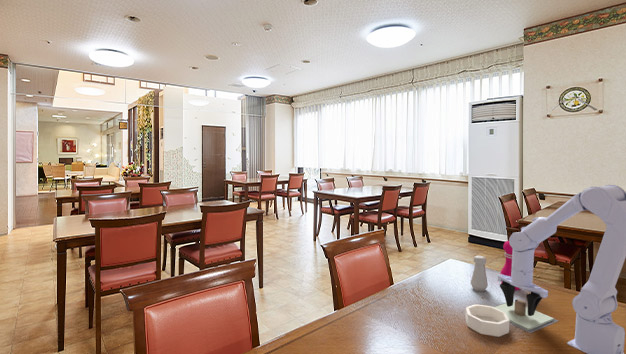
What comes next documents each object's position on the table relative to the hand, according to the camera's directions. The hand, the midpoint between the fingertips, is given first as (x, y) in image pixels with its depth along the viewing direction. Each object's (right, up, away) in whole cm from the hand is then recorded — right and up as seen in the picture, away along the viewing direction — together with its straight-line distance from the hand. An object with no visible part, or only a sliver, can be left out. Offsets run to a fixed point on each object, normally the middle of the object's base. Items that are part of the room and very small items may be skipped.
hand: (520, 310), depth 104 cm
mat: (0, -2, 0) cm, 2 cm away
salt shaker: (-3, -1, +20) cm, 20 cm away
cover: (0, -2, 0) cm, 2 cm away
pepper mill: (+10, 0, +22) cm, 24 cm away
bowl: (-14, -3, -6) cm, 15 cm away
